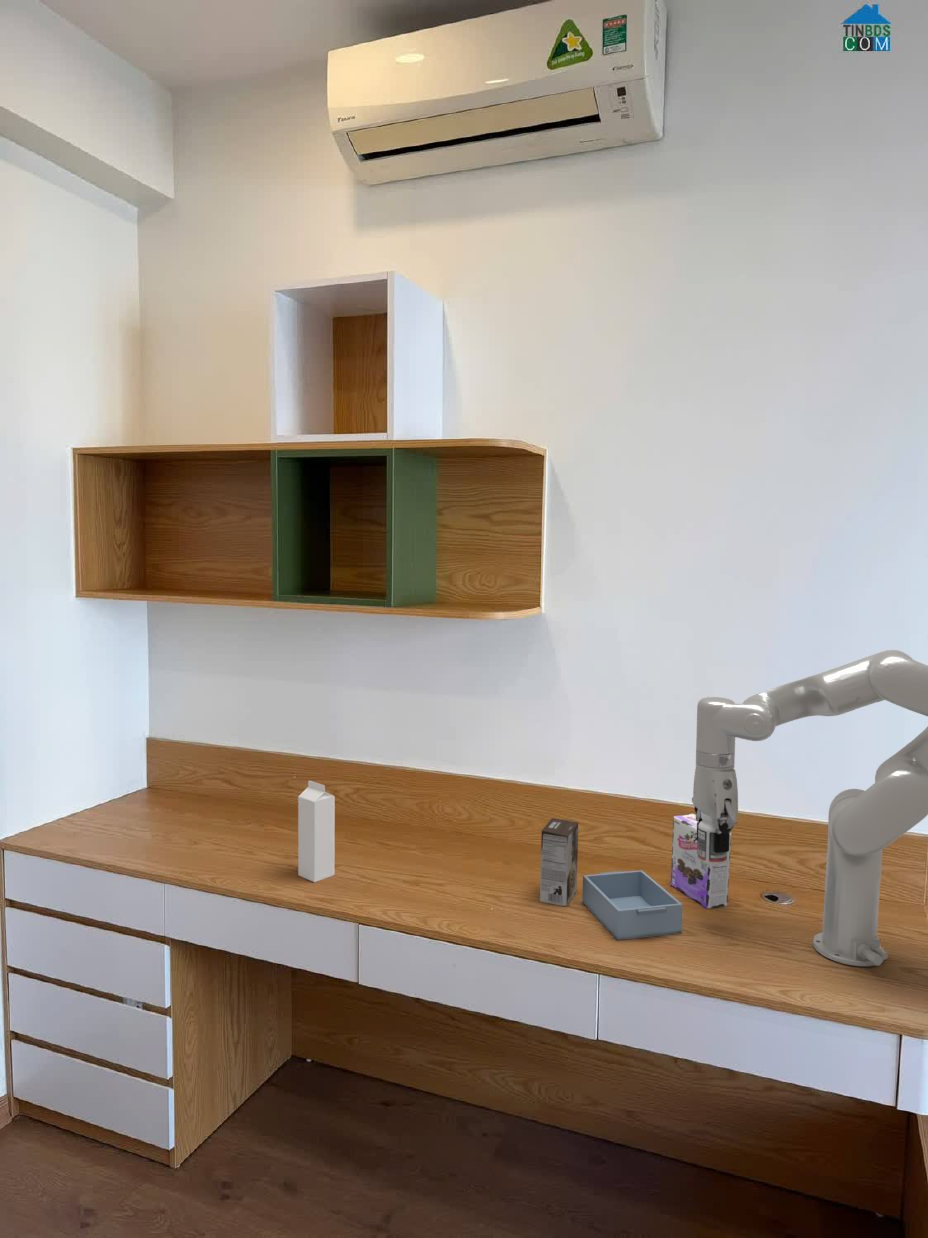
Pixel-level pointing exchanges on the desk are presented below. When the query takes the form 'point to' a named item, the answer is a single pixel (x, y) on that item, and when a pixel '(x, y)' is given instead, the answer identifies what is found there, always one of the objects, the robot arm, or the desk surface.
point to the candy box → (697, 866)
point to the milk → (316, 833)
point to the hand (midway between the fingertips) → (712, 845)
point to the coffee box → (559, 862)
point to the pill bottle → (709, 841)
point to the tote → (631, 904)
